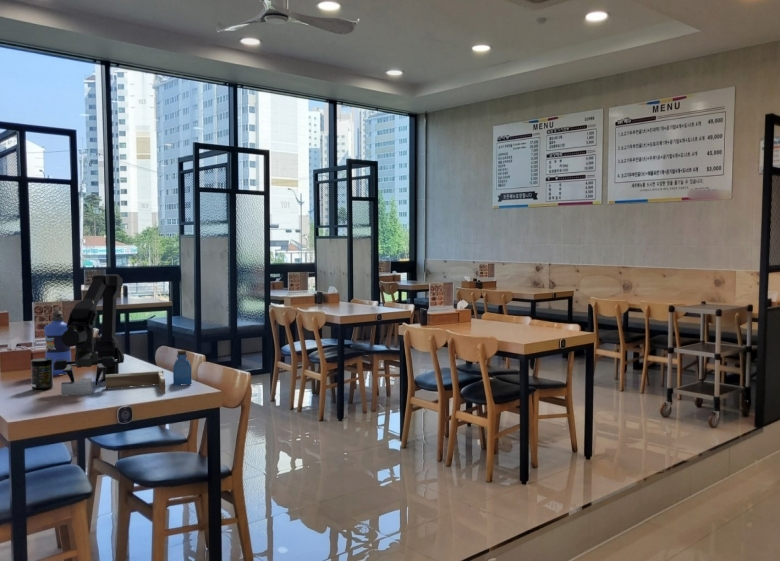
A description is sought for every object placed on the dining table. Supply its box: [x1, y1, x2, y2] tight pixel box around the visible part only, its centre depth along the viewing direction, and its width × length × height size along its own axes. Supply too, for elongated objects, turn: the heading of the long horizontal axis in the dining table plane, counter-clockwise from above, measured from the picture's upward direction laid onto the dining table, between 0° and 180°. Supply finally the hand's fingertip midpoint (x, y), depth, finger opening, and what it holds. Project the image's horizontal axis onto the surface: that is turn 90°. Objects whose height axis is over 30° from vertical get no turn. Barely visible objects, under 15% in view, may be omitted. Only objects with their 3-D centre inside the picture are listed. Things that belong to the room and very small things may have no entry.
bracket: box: [60, 377, 93, 397], centre depth 220 cm, size 9×9×4 cm
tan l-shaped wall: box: [105, 370, 166, 394], centre depth 223 cm, size 18×19×5 cm
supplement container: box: [30, 357, 54, 391], centre depth 227 cm, size 7×7×10 cm
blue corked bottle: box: [172, 350, 192, 385], centre depth 235 cm, size 6×6×12 cm
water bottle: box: [43, 310, 72, 376], centre depth 257 cm, size 9×9×25 cm
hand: (85, 387), depth 223 cm, fingers open, 6 cm apart
